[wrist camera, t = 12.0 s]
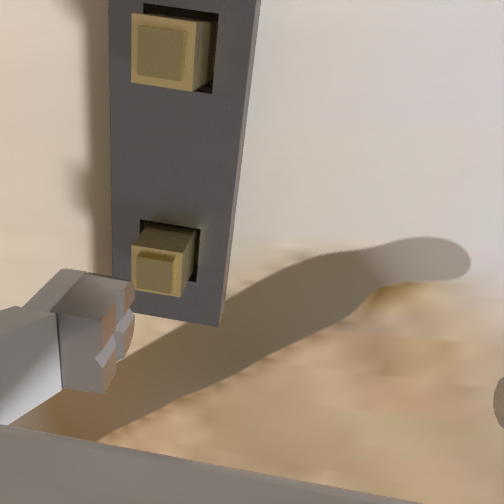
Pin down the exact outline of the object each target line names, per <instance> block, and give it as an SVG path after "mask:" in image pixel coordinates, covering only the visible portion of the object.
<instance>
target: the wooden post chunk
mask: <svg viewBox="0 0 504 504" xmlns="http://www.w3.org/2000/svg"><path fill="white" fill-rule="evenodd" d="M200 233H201V229H197V228H191V227H185V226H179V225H173V224H166V223H160V222H154V221H150V222H149V224H148V225H147V226H146V227H145V229H144V230H143V231H142V232H141V234H140V235H139V236H138V237H137V239H136V240H135V241H134V242H133V244H132V245H131V281H133V283H134V285H135V290H138V291H144V292H150V293H156V294H162V295H169V296H175V297H181V295H182V293H183V291H184V289H185V287H186V284H187V282H188V280H189V278H190V276H191V274H192V272H193V270H194V267H195V265H196V263H197V261H198V257H199V245H200Z"/></svg>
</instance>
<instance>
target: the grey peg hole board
mask: <svg viewBox="0 0 504 504" xmlns="http://www.w3.org/2000/svg"><path fill="white" fill-rule="evenodd" d="M260 4H261V0H109V61H110V130H111V199H112V268H113V277H116V278H121V279H126V280H131V245H132V244H133V242H134V241H135V240H136V239H137V237H138V236H139V235H140V234H141V232H142V231H143V230H144V229H145V227H146V226H147V225H148V224H149V222H150V221H154V222H160V223H166V224H173V225H179V226H185V227H191V228H197V229H201V233H200V245H199V257H198V265H195V267H194V270H193V272H192V274H191V276H190V278H189V280H188V282H187V284H186V287H185V289H184V291H183V293H182V295H181V297H175V296H169V295H162V294H156V293H150V292H144V291H138V290H135V299H134V301H133V302H132V304H131V306H130V307H129V308H130V309H131V311H132V312H134V313H139V314H145V315H151V316H157V317H162V318H168V319H174V320H180V321H185V322H191V323H197V324H203V325H208V326H214V327H219V324H220V321H221V317H222V314H223V311H224V303H225V296H226V288H227V279H228V271H229V263H230V254H231V246H232V237H233V229H234V221H235V212H236V204H237V196H238V187H239V179H240V171H241V162H242V154H243V146H244V137H245V129H246V121H247V112H248V104H249V95H250V87H251V79H252V70H253V62H254V54H255V45H256V37H257V29H258V20H259V12H260ZM156 5H162V6H169V7H176V8H183V9H190V10H197V11H204V12H211V13H218V14H219V18H218V30H217V42H216V54H215V66H214V78H213V88H212V87H205V86H201V87H199V88H197V89H196V90H194V91H192V92H191V91H185V90H178V89H172V88H165V87H158V86H152V85H145V84H139V83H132V82H131V26H132V13H144V14H156Z"/></svg>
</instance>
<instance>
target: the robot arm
mask: <svg viewBox="0 0 504 504" xmlns="http://www.w3.org/2000/svg"><path fill="white" fill-rule="evenodd" d="M134 299H135V285H134V283H133V281H131V280H126V279H121V278H116V277H110V276H105V275H100V274H95V273H90V272H88V273H87V272H85V271H79V270H73V269H67V268H66V269H61V270H60V271H59V272H58V273H57V274H55V275H54V276H53V277H52V278H51V279H50V280H49V281H48V282H47V283H46V284H45V285H44V286H43V287H42V288H41V289H40V290H39V291H38V292H37V293H36V294H35V295H34V296H33V297H32V298H31V299H30V300H29V301H28V302H27V303H26V304H25V305H24V306H23V307H18V306H14V307H11V308H8V309H5V310H2V311H0V504H423V503H418V502H413V501H407V500H402V499H396V498H391V497H386V496H380V495H375V494H370V493H364V492H359V491H354V490H348V489H343V488H337V487H332V486H327V485H321V484H316V483H311V482H305V481H300V480H295V479H289V478H284V477H278V476H273V475H268V474H262V473H257V472H252V471H246V470H241V469H236V468H230V467H225V466H220V465H214V464H209V463H204V462H198V461H193V460H188V459H183V458H177V457H172V456H167V455H161V454H156V453H151V452H145V451H140V450H135V449H129V448H124V447H119V446H114V445H108V444H103V443H98V442H92V441H87V440H82V439H76V438H71V437H66V436H60V435H55V434H50V433H44V432H39V431H34V430H28V429H23V428H18V427H12V426H7V425H8V424H10V423H12V422H13V421H15V420H16V419H18V418H19V417H21V416H22V415H24V414H25V413H27V412H28V411H30V410H31V409H33V408H35V407H36V406H38V405H39V404H41V403H43V402H44V401H46V400H47V399H49V398H50V397H52V396H53V395H55V394H56V393H58V392H59V391H61V390H62V388H67V389H73V390H80V391H87V392H93V393H99V394H104V392H105V391H106V389H107V387H108V385H109V383H110V382H111V380H112V378H113V376H114V375H115V373H116V361H118V360H120V359H122V358H124V357H125V355H126V353H127V351H128V349H129V346H130V343H131V340H132V337H133V331H134V323H135V315H134V314H133V312H132V311H131V309H130V308H129V307H130V306H131V304H132V302H133V301H134ZM493 407H494V412H495V416H496V418H497V420H498V423H499V425H500V426H502V427H503V428H504V377H503V378H501V379H500V380H499V382H498V385H497V387H496V389H495V391H494V401H493Z"/></svg>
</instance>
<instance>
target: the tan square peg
mask: <svg viewBox="0 0 504 504" xmlns="http://www.w3.org/2000/svg"><path fill="white" fill-rule="evenodd" d="M216 33H217V22H213V21H206V20H199V19H192V18H185V17H178V16H171V15H165V14H144V13H132V26H131V82H132V83H139V84H145V85H152V86H158V87H165V88H172V89H178V90H185V91H191V92H192V91H194V90H196V89H197V88H199V87H201V86H202V85H204V84H206V83H207V82H209V81H211V80H212V79H213V69H214V57H215V45H216Z"/></svg>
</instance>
